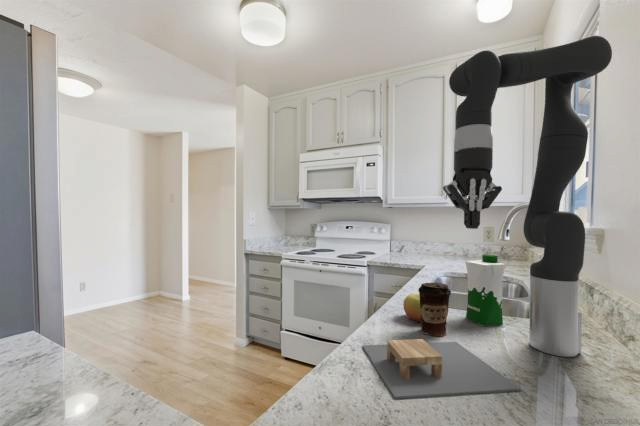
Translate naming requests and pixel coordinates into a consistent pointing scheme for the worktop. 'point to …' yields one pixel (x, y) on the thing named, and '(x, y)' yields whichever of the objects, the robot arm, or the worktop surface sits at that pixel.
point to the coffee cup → (434, 308)
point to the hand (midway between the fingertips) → (471, 228)
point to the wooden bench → (413, 356)
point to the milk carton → (485, 290)
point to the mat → (457, 374)
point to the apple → (413, 307)
